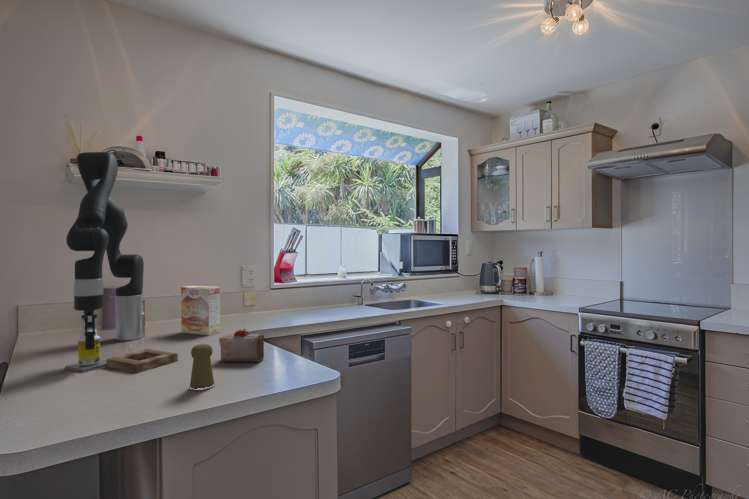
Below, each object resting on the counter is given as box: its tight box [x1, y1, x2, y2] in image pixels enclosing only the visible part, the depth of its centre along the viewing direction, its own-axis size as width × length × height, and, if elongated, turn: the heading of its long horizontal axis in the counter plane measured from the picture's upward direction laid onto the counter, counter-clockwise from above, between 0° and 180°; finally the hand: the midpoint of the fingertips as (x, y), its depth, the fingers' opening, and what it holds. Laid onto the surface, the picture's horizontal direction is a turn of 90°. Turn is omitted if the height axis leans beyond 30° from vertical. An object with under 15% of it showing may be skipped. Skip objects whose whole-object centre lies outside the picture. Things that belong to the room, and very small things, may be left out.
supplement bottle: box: [77, 329, 101, 366], centre depth 131 cm, size 6×6×10 cm
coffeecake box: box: [180, 285, 221, 336], centre depth 181 cm, size 15×7×20 cm, turn 68°
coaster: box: [64, 359, 107, 373], centre depth 131 cm, size 9×9×1 cm
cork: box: [189, 343, 215, 389], centre depth 112 cm, size 6×6×11 cm
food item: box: [218, 328, 265, 363], centre depth 138 cm, size 14×8×10 cm, turn 87°
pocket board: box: [105, 348, 179, 373], centre depth 134 cm, size 14×14×2 cm
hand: (89, 346), depth 131 cm, fingers open, 8 cm apart
